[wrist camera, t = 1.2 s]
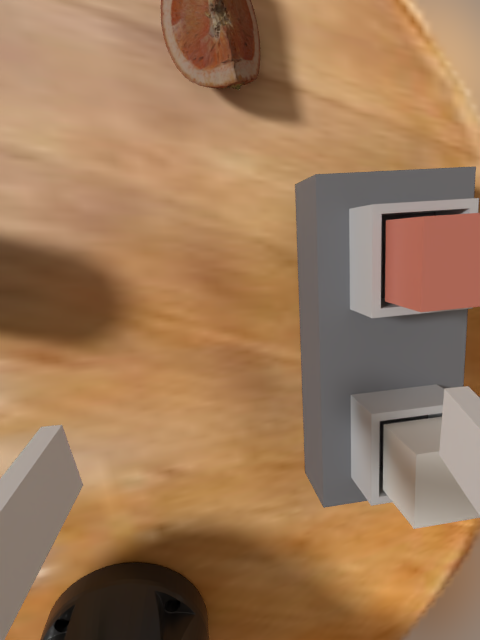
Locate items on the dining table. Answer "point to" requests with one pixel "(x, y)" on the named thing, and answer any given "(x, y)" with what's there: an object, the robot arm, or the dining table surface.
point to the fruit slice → (212, 40)
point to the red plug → (433, 262)
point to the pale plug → (421, 475)
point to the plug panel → (368, 323)
